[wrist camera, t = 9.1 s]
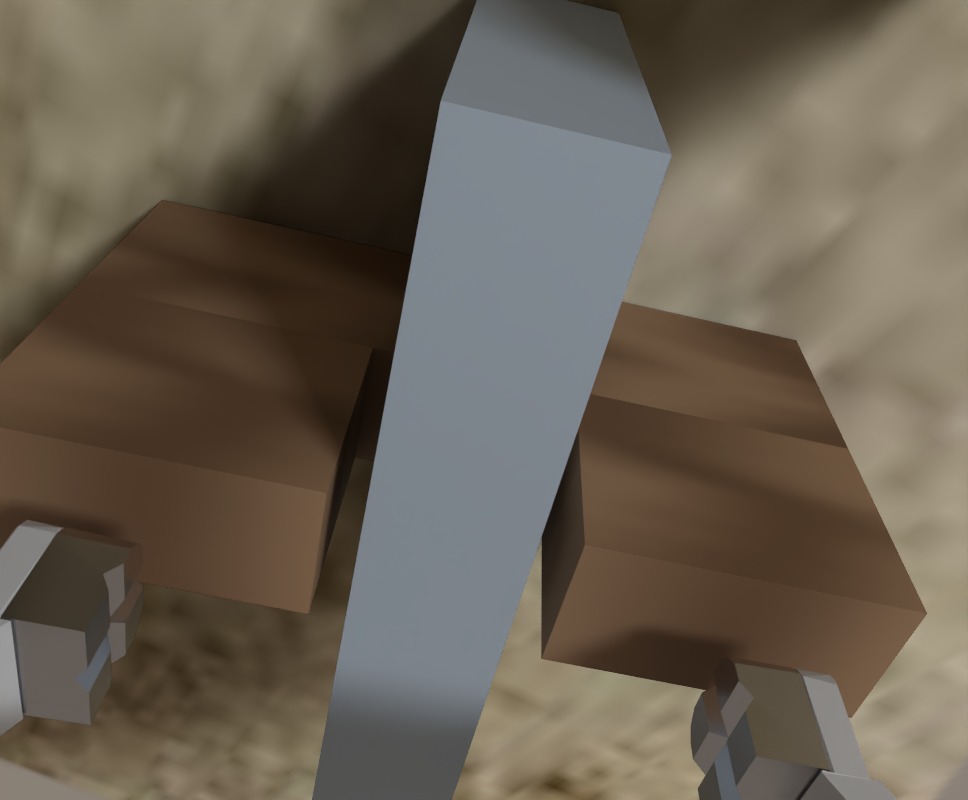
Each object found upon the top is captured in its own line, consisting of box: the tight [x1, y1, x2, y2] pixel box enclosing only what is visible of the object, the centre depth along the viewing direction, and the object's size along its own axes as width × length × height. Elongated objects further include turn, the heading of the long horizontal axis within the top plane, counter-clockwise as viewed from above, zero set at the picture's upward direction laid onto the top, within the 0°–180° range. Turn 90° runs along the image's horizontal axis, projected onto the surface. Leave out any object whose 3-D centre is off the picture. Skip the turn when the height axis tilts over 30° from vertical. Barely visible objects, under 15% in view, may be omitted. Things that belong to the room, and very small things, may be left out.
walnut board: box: [0, 200, 927, 718], centre depth 16 cm, size 14×2×8 cm, turn 78°
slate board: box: [312, 0, 672, 800], centre depth 16 cm, size 14×2×8 cm, turn 168°
